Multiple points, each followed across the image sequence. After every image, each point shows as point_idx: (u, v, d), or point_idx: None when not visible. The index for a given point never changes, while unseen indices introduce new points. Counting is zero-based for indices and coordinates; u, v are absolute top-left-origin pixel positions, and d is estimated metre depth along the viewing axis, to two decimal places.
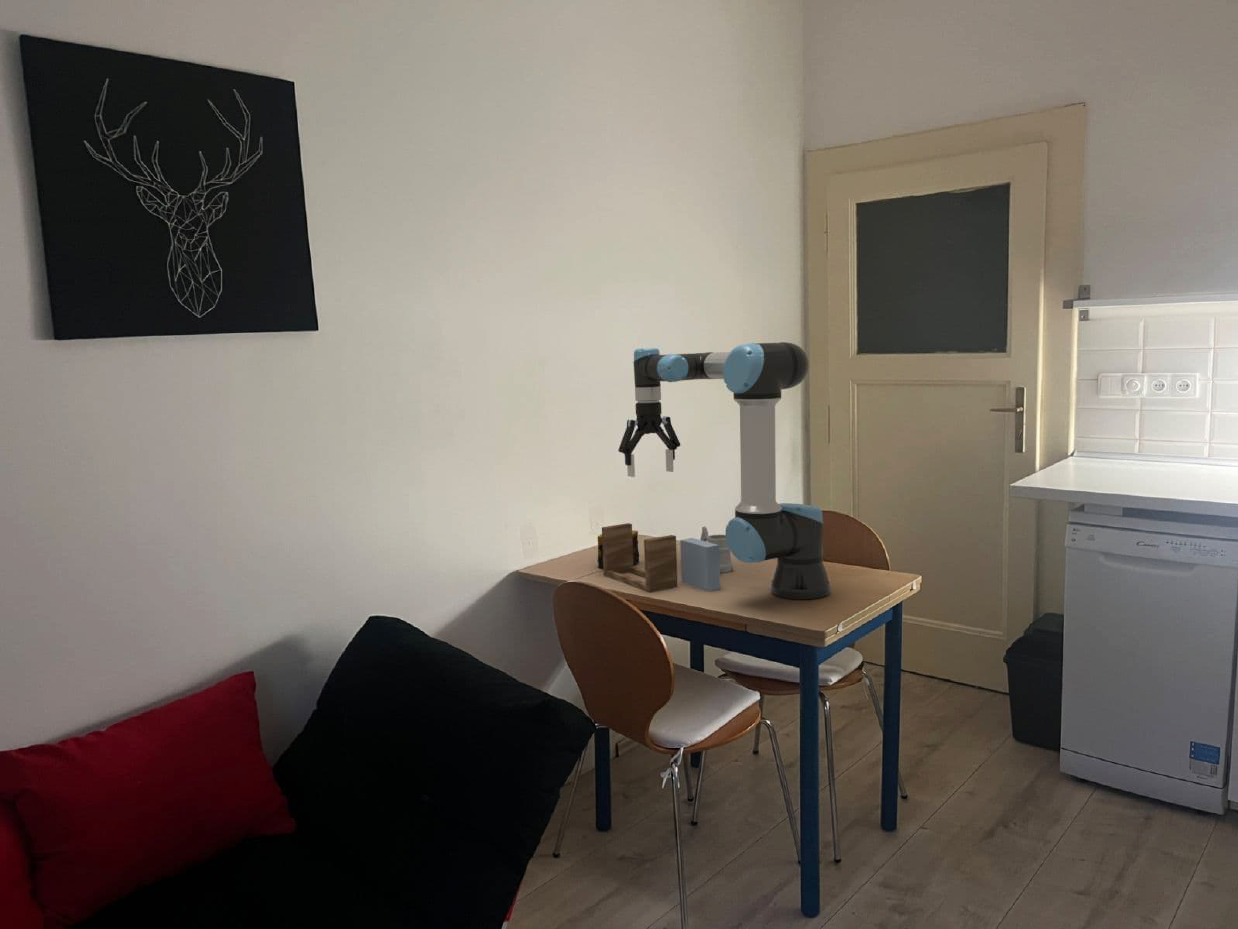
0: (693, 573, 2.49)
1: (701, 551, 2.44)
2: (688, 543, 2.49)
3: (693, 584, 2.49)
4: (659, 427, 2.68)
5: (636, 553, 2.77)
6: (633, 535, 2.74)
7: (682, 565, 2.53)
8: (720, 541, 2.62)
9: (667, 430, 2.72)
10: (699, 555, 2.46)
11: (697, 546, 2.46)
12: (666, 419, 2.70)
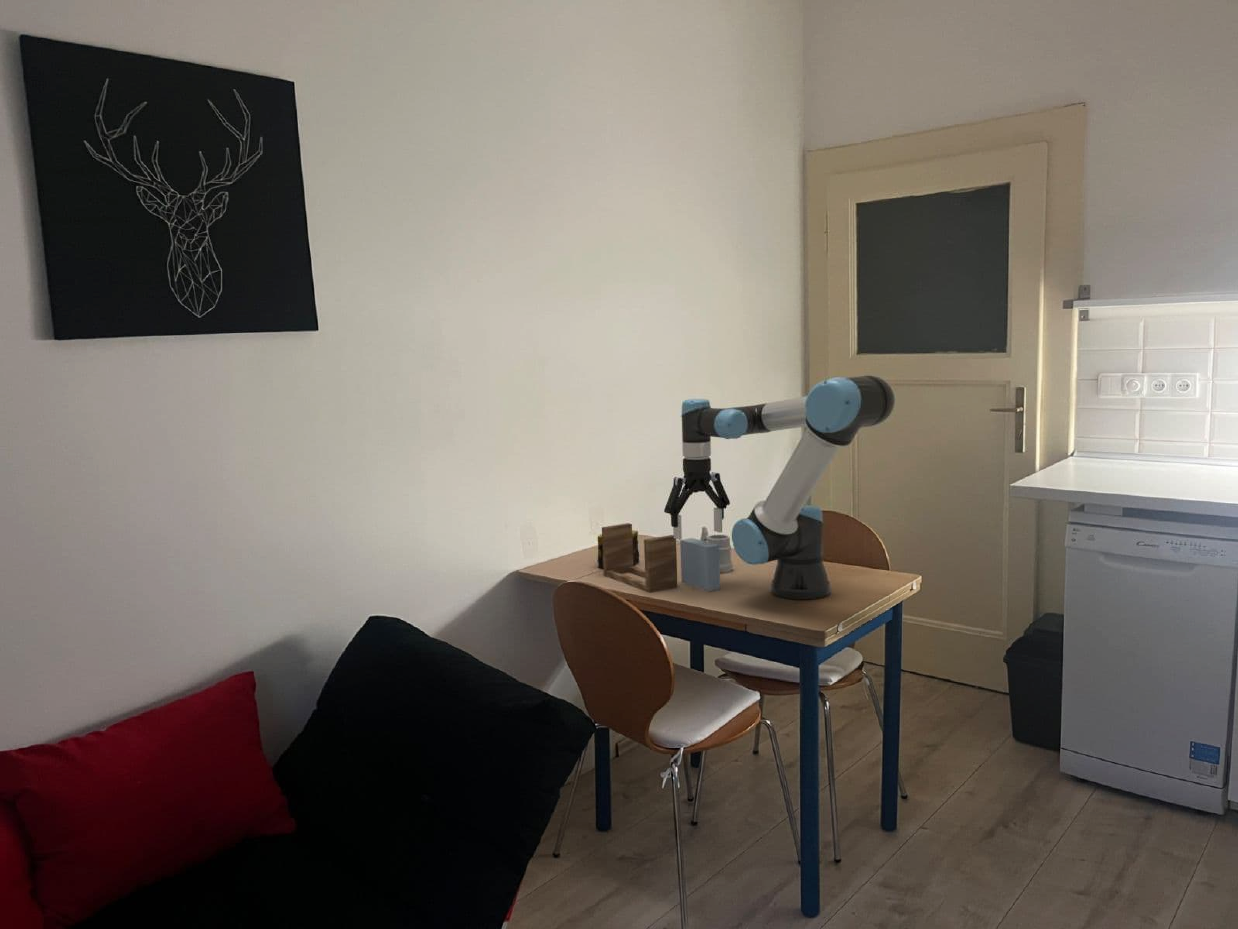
0: (693, 573, 2.49)
1: (701, 551, 2.44)
2: (688, 543, 2.49)
3: (693, 584, 2.49)
4: (708, 485, 2.46)
5: (636, 553, 2.77)
6: (633, 535, 2.74)
7: (682, 565, 2.53)
8: (720, 541, 2.62)
9: (716, 487, 2.51)
10: (699, 555, 2.46)
11: (697, 546, 2.46)
12: (715, 476, 2.49)
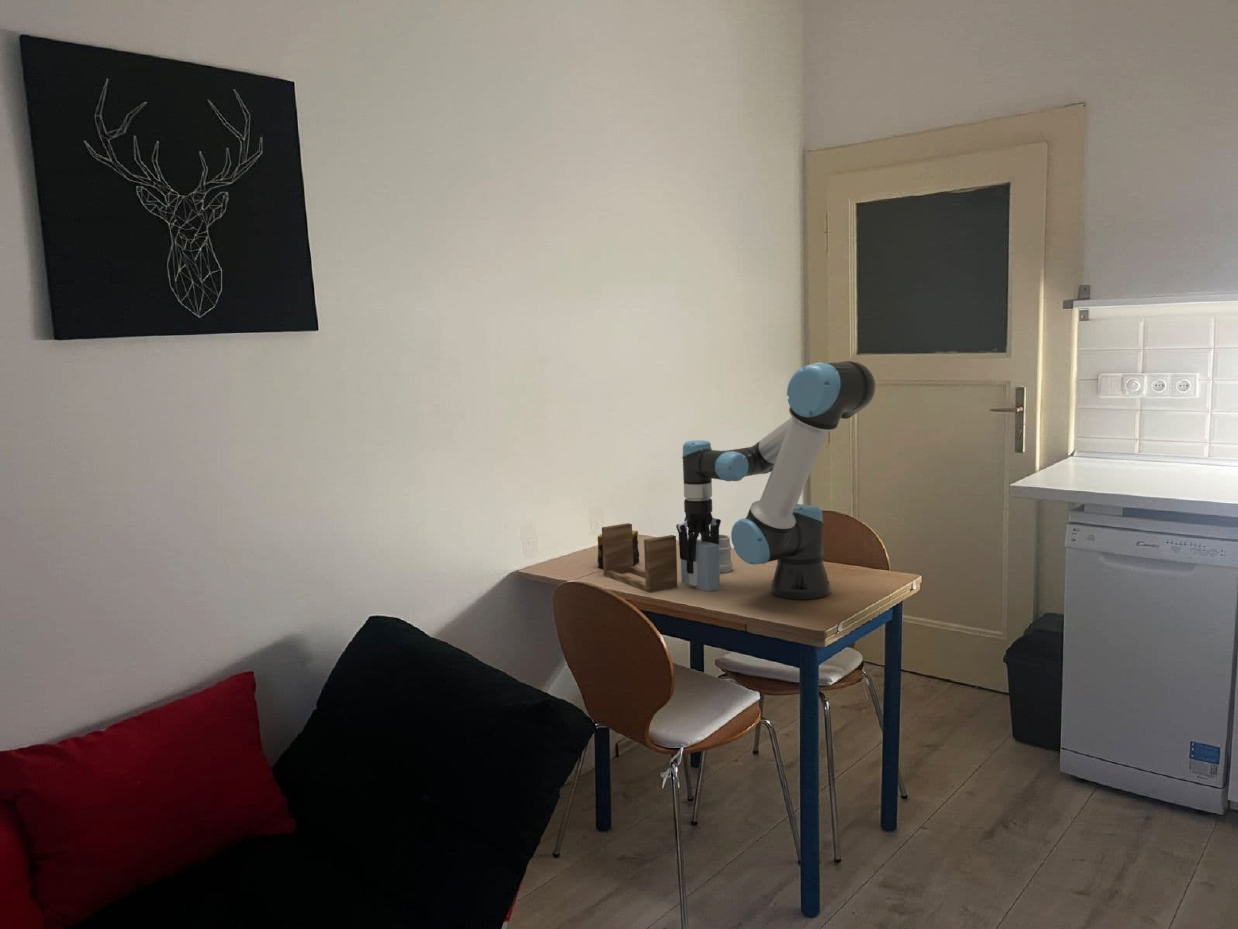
0: None
1: (701, 551, 2.44)
2: None
3: None
4: (707, 527, 2.47)
5: (636, 553, 2.77)
6: (633, 535, 2.74)
7: (682, 565, 2.53)
8: (720, 541, 2.62)
9: (712, 533, 2.51)
10: (699, 555, 2.46)
11: (697, 546, 2.46)
12: (716, 521, 2.50)
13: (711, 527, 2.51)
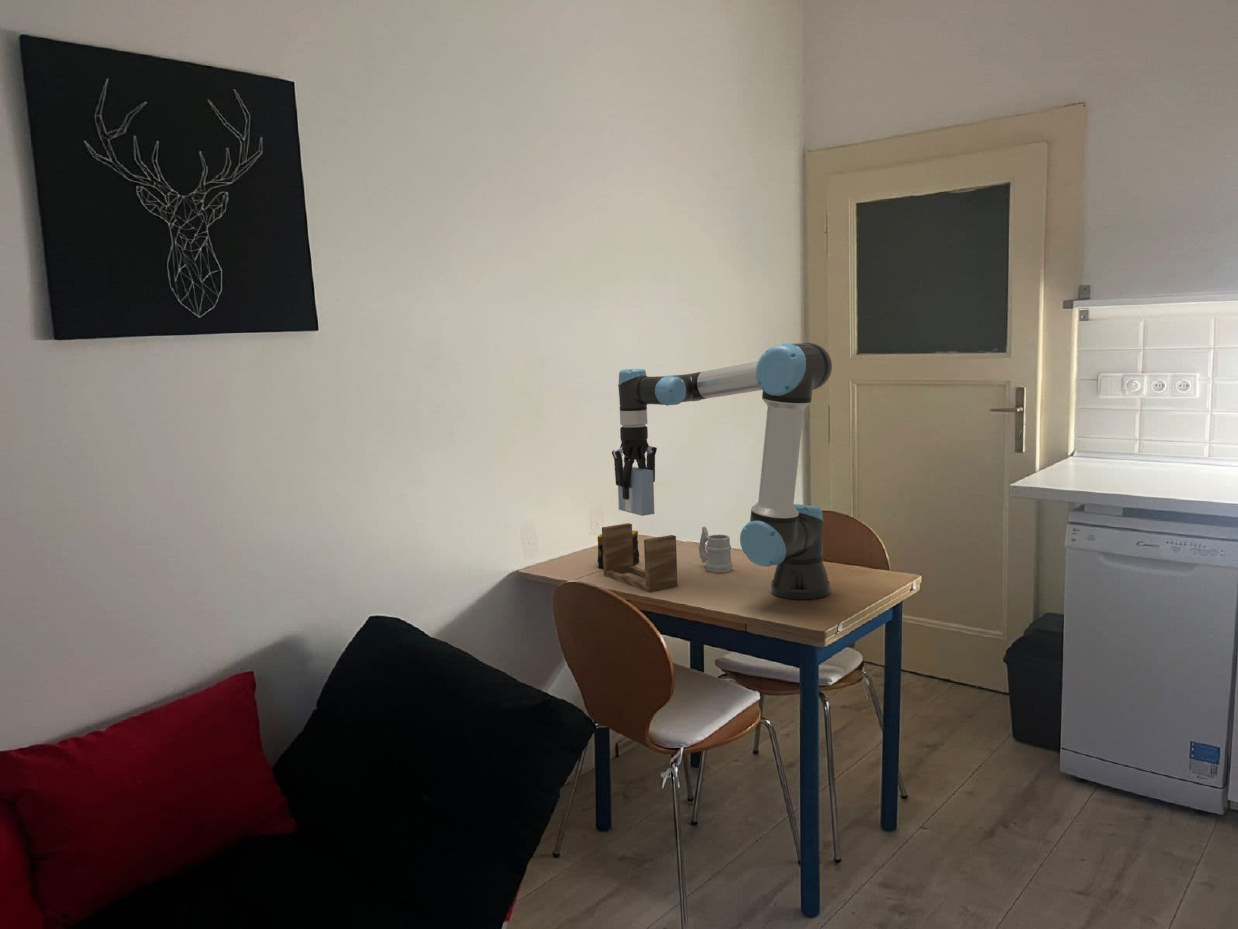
0: None
1: (636, 476, 2.50)
2: None
3: None
4: (643, 454, 2.52)
5: (636, 553, 2.77)
6: (633, 535, 2.74)
7: (619, 492, 2.58)
8: (720, 541, 2.62)
9: (648, 461, 2.56)
10: (634, 480, 2.51)
11: (632, 472, 2.51)
12: (652, 449, 2.55)
13: (647, 455, 2.56)
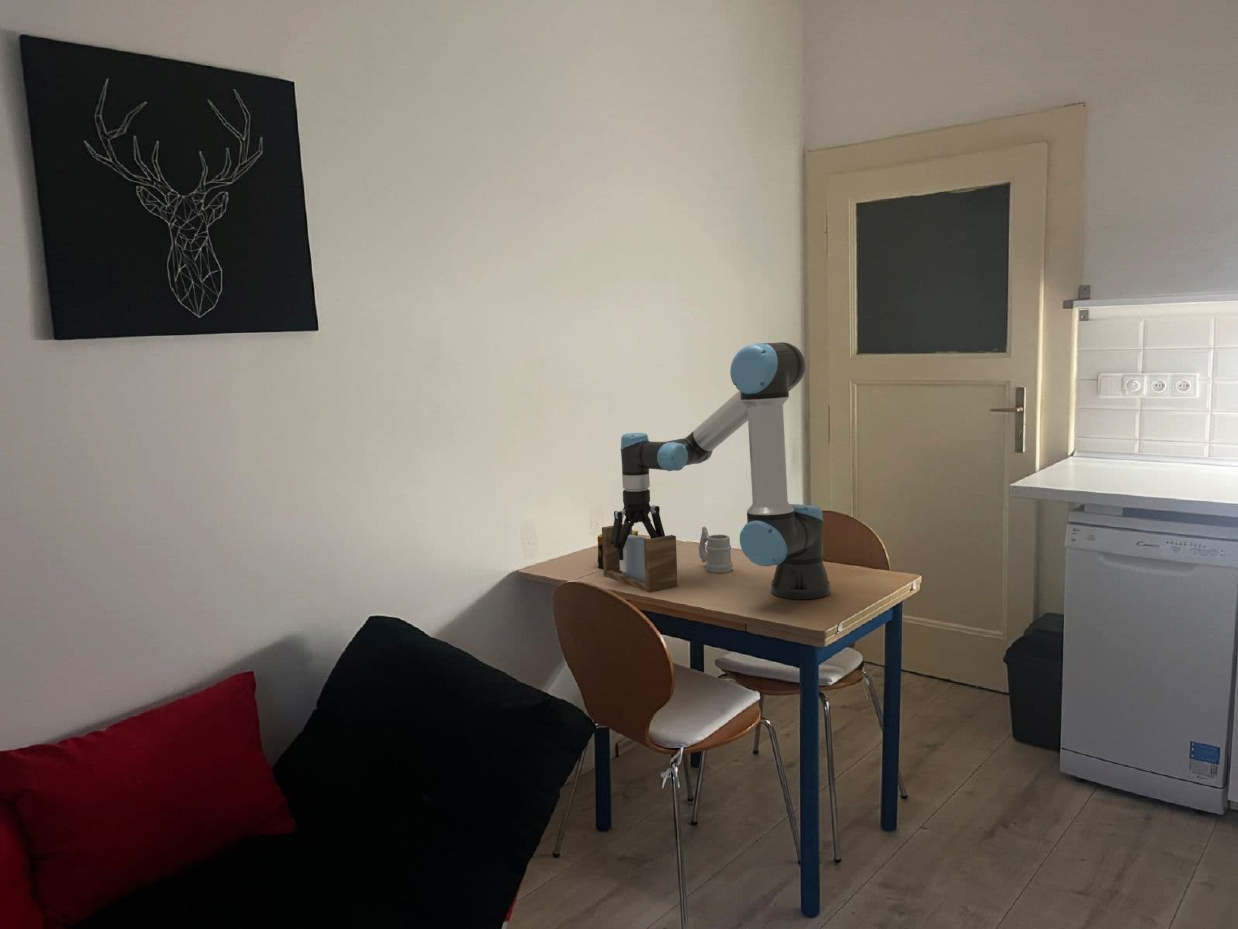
0: (632, 568, 2.56)
1: (639, 547, 2.52)
2: (627, 539, 2.57)
3: None
4: (647, 516, 2.55)
5: None
6: None
7: None
8: (720, 541, 2.62)
9: (654, 520, 2.59)
10: (637, 551, 2.53)
11: (635, 542, 2.54)
12: (655, 508, 2.57)
13: (652, 515, 2.59)
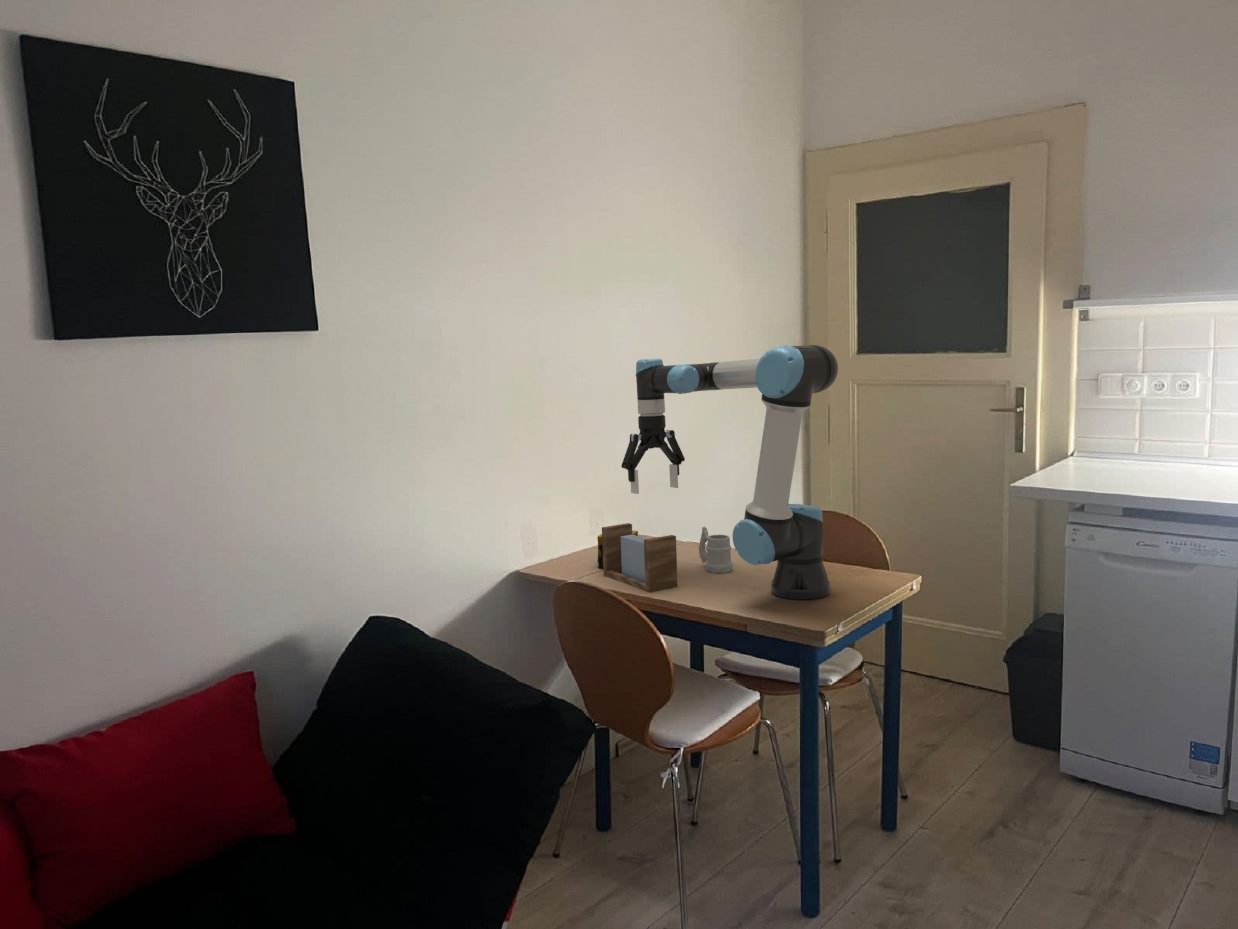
0: (632, 568, 2.56)
1: (639, 547, 2.52)
2: (627, 539, 2.57)
3: None
4: (663, 441, 2.56)
5: None
6: None
7: (622, 561, 2.60)
8: (720, 541, 2.62)
9: (671, 444, 2.60)
10: (637, 551, 2.53)
11: (635, 542, 2.54)
12: (670, 433, 2.59)
13: (668, 439, 2.60)
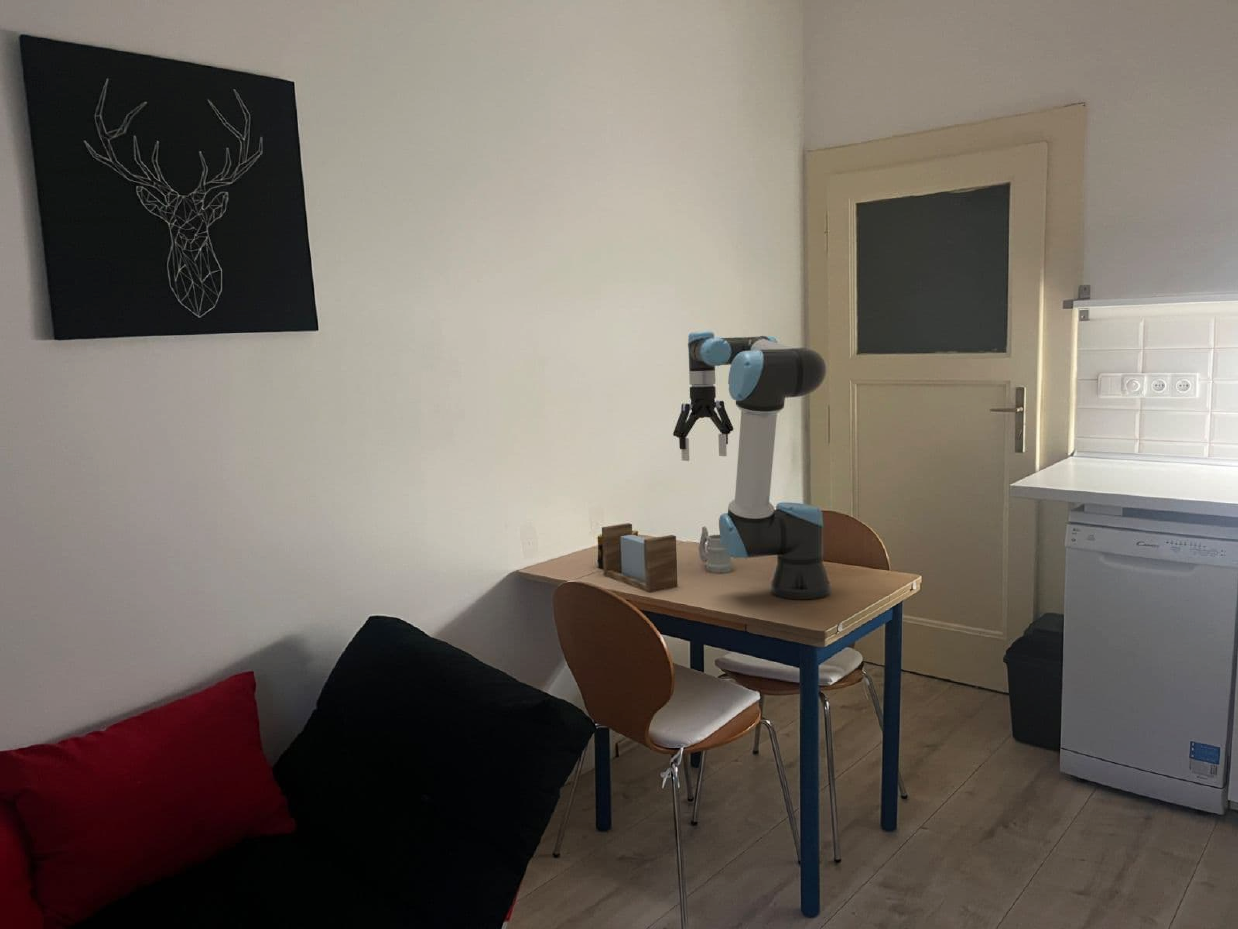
0: (632, 569, 2.56)
1: (639, 547, 2.52)
2: (627, 539, 2.57)
3: None
4: (713, 411, 2.67)
5: None
6: None
7: (622, 561, 2.60)
8: (720, 541, 2.62)
9: (720, 414, 2.72)
10: (637, 551, 2.53)
11: (635, 542, 2.54)
12: (720, 403, 2.70)
13: (718, 410, 2.71)
